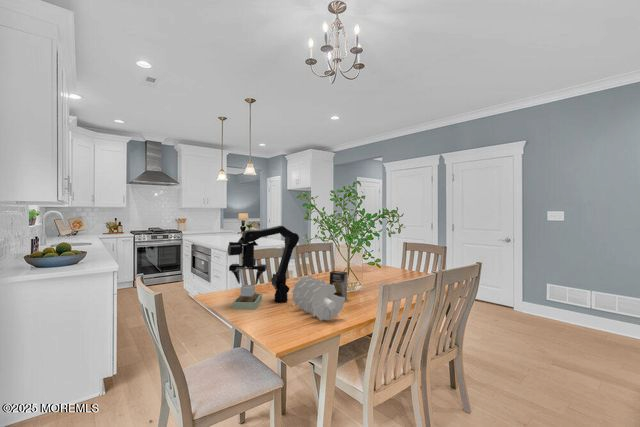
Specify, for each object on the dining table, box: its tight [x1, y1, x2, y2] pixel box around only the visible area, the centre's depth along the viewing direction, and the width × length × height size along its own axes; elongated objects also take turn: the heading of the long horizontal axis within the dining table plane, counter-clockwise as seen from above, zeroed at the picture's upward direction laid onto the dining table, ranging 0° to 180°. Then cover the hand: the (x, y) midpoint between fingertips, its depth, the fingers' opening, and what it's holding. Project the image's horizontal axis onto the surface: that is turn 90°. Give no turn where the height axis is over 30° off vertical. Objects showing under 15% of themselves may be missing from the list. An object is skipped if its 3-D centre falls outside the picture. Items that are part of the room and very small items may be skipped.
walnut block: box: [238, 292, 257, 302], centre depth 159 cm, size 7×7×6 cm
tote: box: [232, 292, 263, 311], centre depth 162 cm, size 12×17×4 cm
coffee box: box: [329, 270, 348, 301], centre depth 174 cm, size 9×6×16 cm
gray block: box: [240, 284, 256, 296], centre depth 159 cm, size 6×6×4 cm
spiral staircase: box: [291, 274, 346, 322], centre depth 149 cm, size 18×18×25 cm
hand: (247, 283), depth 159 cm, fingers open, 9 cm apart
